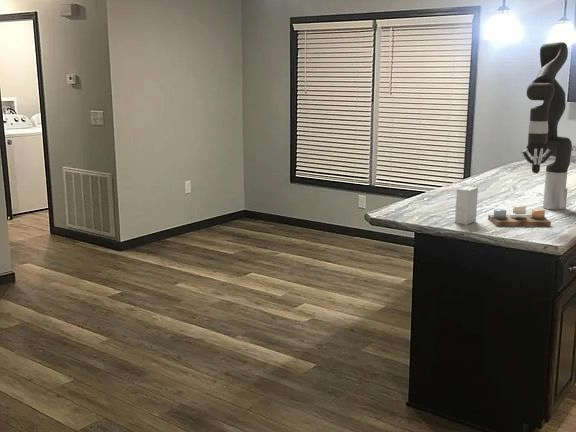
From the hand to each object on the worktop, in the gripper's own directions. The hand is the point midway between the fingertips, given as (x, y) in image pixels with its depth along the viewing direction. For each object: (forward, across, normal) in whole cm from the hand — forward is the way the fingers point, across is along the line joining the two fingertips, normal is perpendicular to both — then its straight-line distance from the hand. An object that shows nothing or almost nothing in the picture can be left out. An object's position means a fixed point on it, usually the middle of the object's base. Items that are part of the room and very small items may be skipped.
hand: (535, 173), depth 276 cm
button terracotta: (+18, -1, +4) cm, 19 cm away
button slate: (+18, +15, +4) cm, 24 cm away
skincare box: (+20, +30, +3) cm, 36 cm away
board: (+20, +8, +4) cm, 22 cm away
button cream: (+16, +7, +4) cm, 18 cm away
